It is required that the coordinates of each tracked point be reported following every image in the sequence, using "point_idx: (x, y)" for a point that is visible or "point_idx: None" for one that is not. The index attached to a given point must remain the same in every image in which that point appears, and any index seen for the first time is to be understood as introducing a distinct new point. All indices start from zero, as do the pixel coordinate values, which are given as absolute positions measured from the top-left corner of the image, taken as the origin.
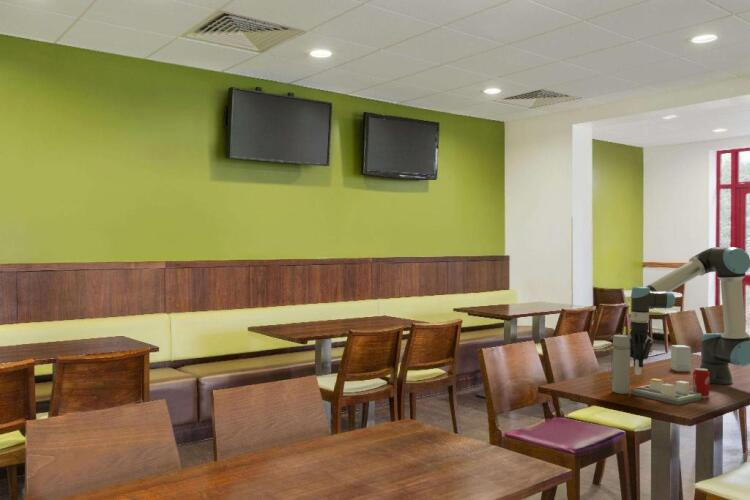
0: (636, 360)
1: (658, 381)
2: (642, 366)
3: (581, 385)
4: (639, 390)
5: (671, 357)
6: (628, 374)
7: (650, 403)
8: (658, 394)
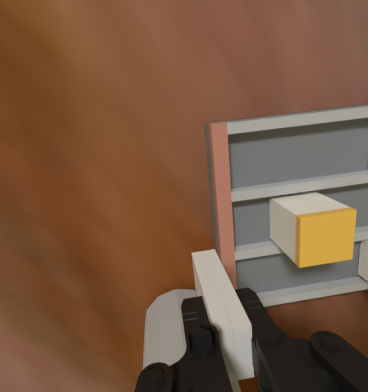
0: (233, 375)
1: (350, 256)
2: (254, 297)
3: (3, 372)
4: (267, 304)
5: None
6: (239, 387)
7: (348, 333)
8: (358, 290)
